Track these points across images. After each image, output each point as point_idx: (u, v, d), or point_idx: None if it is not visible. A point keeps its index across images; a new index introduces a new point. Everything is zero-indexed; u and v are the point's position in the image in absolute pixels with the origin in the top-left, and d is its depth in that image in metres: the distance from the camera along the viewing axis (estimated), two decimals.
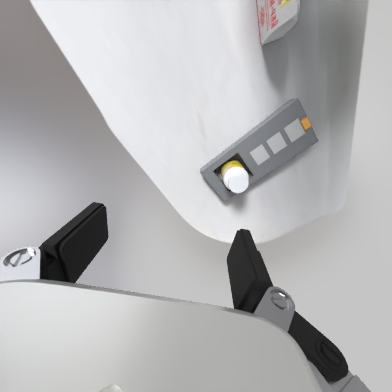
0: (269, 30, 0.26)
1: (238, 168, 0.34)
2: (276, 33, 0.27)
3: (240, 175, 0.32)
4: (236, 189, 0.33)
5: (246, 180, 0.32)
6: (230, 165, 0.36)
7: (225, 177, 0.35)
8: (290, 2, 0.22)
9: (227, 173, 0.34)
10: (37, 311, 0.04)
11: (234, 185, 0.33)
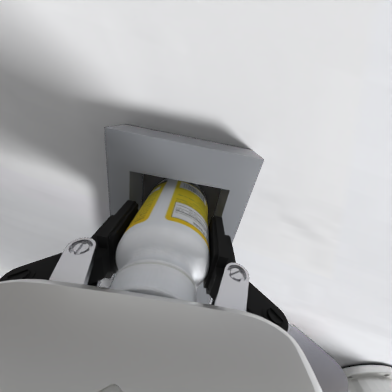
0: None
1: None
2: None
3: None
4: None
5: None
6: None
7: (201, 253, 0.08)
8: None
9: (206, 267, 0.09)
10: (37, 311, 0.04)
11: None
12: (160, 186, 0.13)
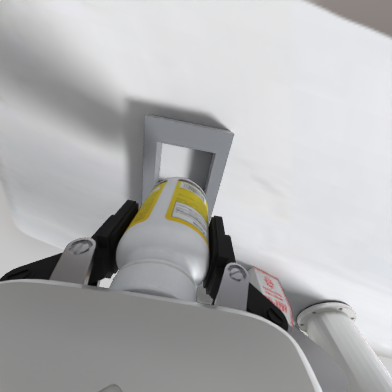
0: (263, 289, 0.29)
1: None
2: None
3: None
4: None
5: None
6: None
7: (201, 253, 0.08)
8: None
9: (206, 266, 0.09)
10: (37, 311, 0.04)
11: None
12: (160, 186, 0.13)
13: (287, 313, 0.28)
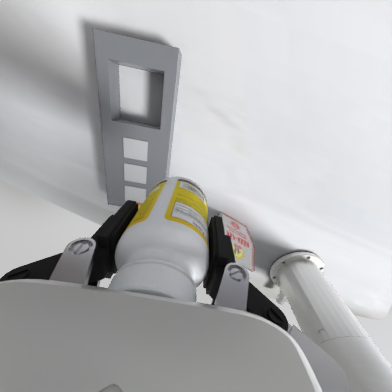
0: (226, 227, 0.30)
1: None
2: None
3: None
4: None
5: None
6: None
7: (201, 253, 0.08)
8: None
9: (205, 267, 0.09)
10: (37, 311, 0.04)
11: None
12: (160, 186, 0.13)
13: (249, 248, 0.29)
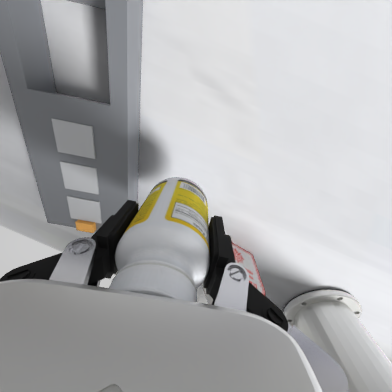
0: None
1: None
2: None
3: None
4: None
5: None
6: None
7: (201, 254, 0.08)
8: None
9: (206, 267, 0.09)
10: (37, 311, 0.04)
11: None
12: (160, 186, 0.13)
13: None
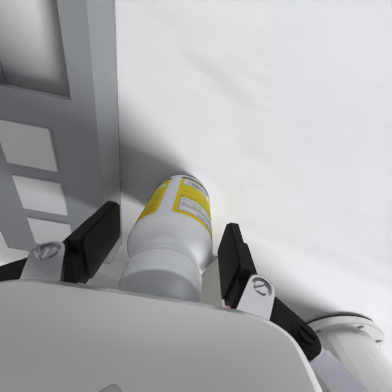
0: None
1: None
2: (213, 295, 0.17)
3: None
4: (145, 282, 0.07)
5: None
6: None
7: (205, 241, 0.09)
8: None
9: (209, 254, 0.10)
10: (37, 311, 0.04)
11: (166, 287, 0.07)
12: (165, 183, 0.14)
13: None
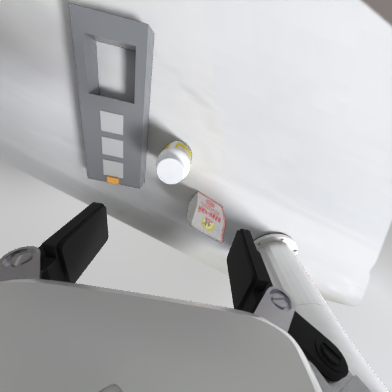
0: (200, 203, 0.32)
1: (182, 178, 0.26)
2: (193, 205, 0.32)
3: (178, 181, 0.24)
4: (166, 164, 0.23)
5: (167, 181, 0.24)
6: None
7: (186, 159, 0.25)
8: (200, 223, 0.29)
9: (188, 165, 0.25)
10: (37, 311, 0.04)
11: (173, 167, 0.23)
12: (170, 143, 0.29)
13: (220, 223, 0.31)
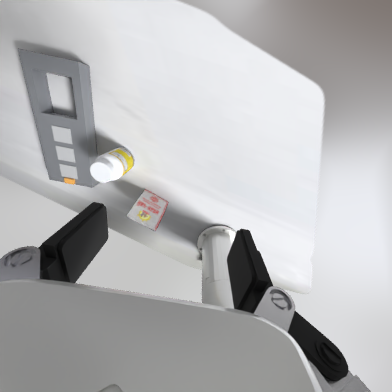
0: (141, 198, 0.38)
1: (117, 178, 0.33)
2: None
3: (108, 180, 0.31)
4: (96, 167, 0.29)
5: (100, 180, 0.31)
6: (125, 170, 0.34)
7: (117, 162, 0.31)
8: (136, 215, 0.35)
9: (119, 167, 0.32)
10: (37, 311, 0.04)
11: (102, 168, 0.29)
12: None
13: (157, 215, 0.37)
